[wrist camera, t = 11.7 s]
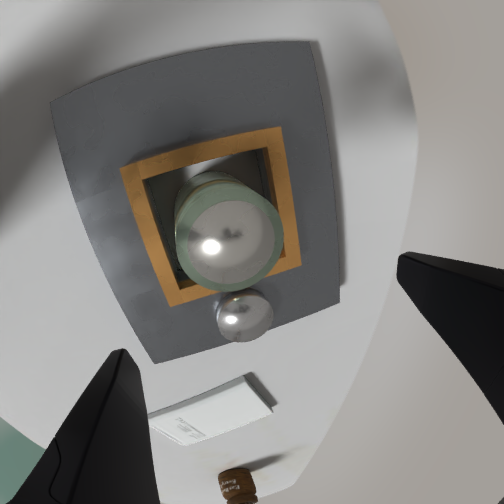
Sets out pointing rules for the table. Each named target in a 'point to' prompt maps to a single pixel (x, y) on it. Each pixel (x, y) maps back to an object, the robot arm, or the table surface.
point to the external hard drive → (211, 413)
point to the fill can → (225, 232)
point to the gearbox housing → (195, 151)
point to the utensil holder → (238, 486)
